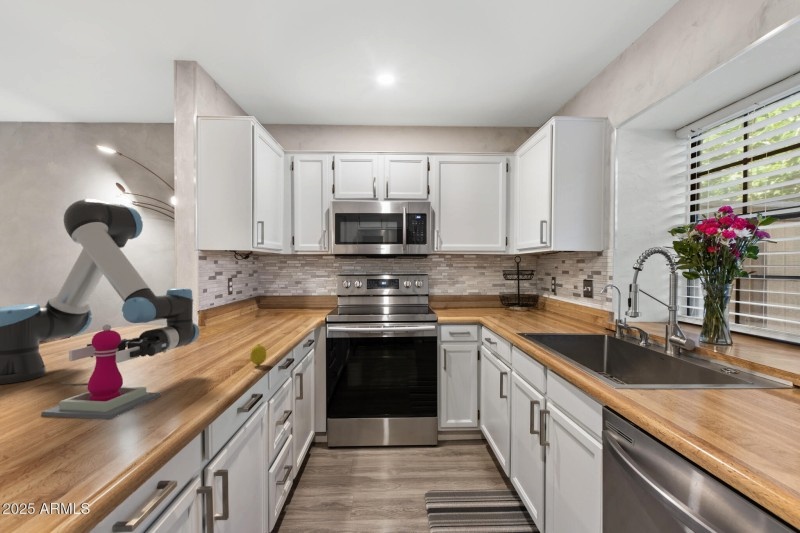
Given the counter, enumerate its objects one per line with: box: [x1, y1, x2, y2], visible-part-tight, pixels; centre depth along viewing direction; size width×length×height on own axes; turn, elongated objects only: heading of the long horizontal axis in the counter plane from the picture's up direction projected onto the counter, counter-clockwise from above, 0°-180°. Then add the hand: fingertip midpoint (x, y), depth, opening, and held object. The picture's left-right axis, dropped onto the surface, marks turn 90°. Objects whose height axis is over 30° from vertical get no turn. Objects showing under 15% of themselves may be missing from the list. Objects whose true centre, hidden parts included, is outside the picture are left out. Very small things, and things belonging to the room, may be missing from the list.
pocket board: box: [40, 385, 161, 420], centre depth 96 cm, size 18×16×3 cm
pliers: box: [60, 381, 88, 386], centre depth 116 cm, size 10×1×20 cm
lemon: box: [250, 343, 267, 367], centre depth 136 cm, size 6×6×8 cm
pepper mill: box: [86, 324, 124, 401], centre depth 96 cm, size 7×7×20 cm
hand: (93, 356), depth 92 cm, fingers open, 12 cm apart
